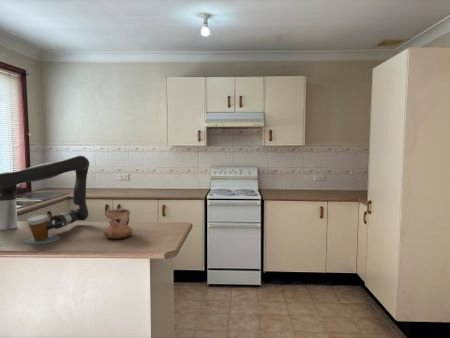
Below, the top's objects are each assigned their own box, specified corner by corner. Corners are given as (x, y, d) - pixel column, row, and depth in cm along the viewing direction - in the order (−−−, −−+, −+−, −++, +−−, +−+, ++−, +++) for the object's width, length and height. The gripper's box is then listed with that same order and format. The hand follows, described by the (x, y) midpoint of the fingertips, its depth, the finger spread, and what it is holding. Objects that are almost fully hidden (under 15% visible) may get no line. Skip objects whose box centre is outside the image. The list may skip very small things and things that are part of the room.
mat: (17, 241, 166) (17, 241, 166) (47, 234, 180) (47, 233, 180) (36, 246, 159) (36, 245, 159) (66, 237, 173) (66, 237, 173)
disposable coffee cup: (36, 244, 162) (31, 222, 159) (28, 239, 168) (23, 218, 165) (55, 237, 169) (51, 216, 166) (46, 232, 175) (42, 212, 172)
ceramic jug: (119, 242, 164) (119, 215, 163) (96, 239, 169) (96, 212, 168) (140, 234, 181) (140, 208, 180) (118, 231, 186) (118, 206, 185)
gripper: (49, 213, 184) (27, 220, 168) (71, 214, 182) (51, 221, 166) (49, 226, 185) (27, 234, 169) (72, 227, 182) (52, 235, 166)
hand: (39, 227), depth 167 cm, fingers closed on disposable coffee cup, 8 cm apart
